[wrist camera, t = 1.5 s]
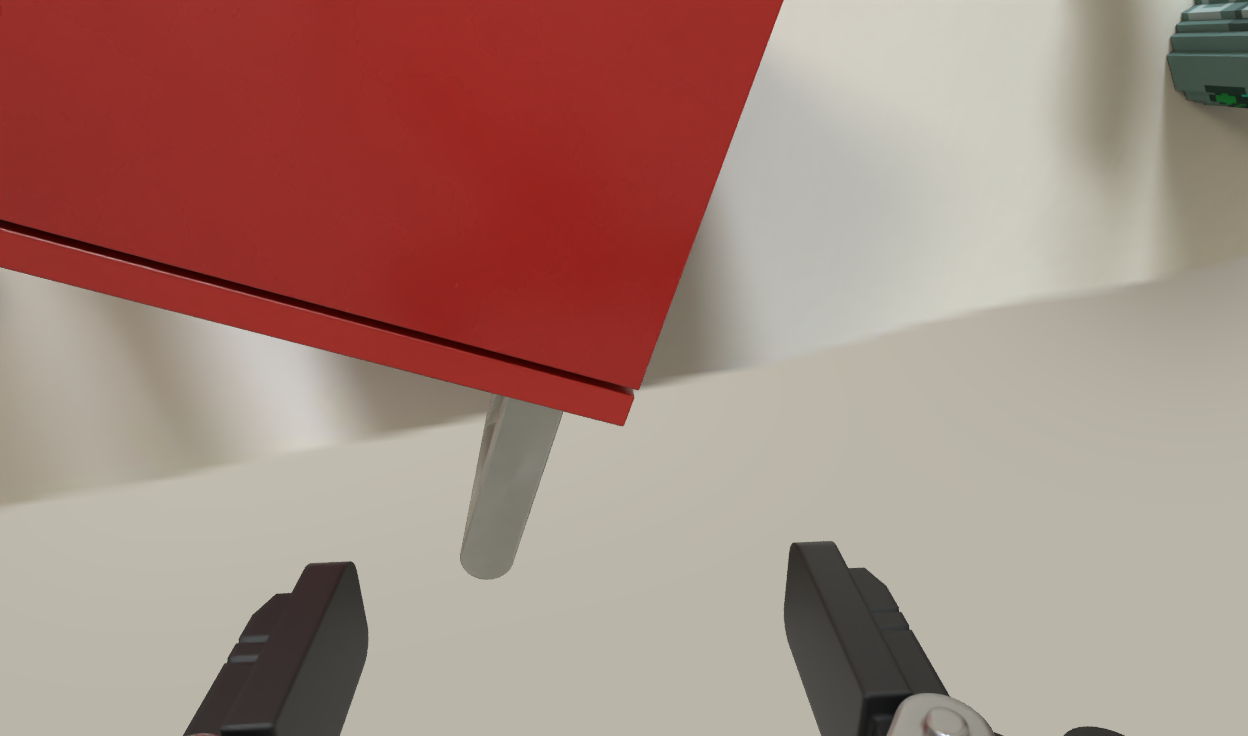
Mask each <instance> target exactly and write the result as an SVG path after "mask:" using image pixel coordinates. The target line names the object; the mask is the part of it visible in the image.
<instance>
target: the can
mask: <svg viewBox="0 0 1248 736" xmlns="http://www.w3.org/2000/svg"><path fill="white" fill-rule="evenodd" d="M1195 1H1196V5H1194V6H1193V7H1191V8H1190V9H1188V10H1186V11H1185V12H1183V13H1181V14H1182V18H1183V21H1182V22H1180V23H1179V24H1177V25H1176V28H1177V32H1178V33H1176V34H1174V35H1173V36H1171V37H1170V38H1171V42H1172V46H1173V50H1174V51H1173V52H1172V53H1170V54H1168V55H1167V59H1168V63H1169V66H1170V70H1171V74H1172V78H1173V82H1174V86H1175V89H1176V90H1181V91H1184V92H1185V96H1186V99H1188V100H1195V102H1203V103H1204V104H1206V105H1217V106H1228V107H1239V108H1248V0H1195Z"/></svg>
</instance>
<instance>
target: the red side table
mask: <svg viewBox="0 0 1248 736" xmlns="http://www.w3.org/2000/svg"><path fill="white" fill-rule="evenodd" d="M0 267H1V268H5V269H9V270H13V271H17V272H21V273H25V274H29V275H33V276H37V277H40V278H44V279H48V280H52V281H56V282H60V283H64V284H68V285H72V286H76V287H80V288H83V289H87V290H91V291H95V292H99V293H103V294H107V295H111V296H115V297H119V298H123V299H126V300H130V301H134V302H138V303H142V304H146V305H150V306H154V307H158V308H162V309H165V310H169V311H173V312H177V313H181V314H185V315H189V316H193V317H197V318H201V319H205V320H208V321H212V322H216V323H220V324H224V325H228V326H232V327H236V328H240V329H244V330H248V331H251V332H255V333H259V334H263V335H267V336H271V337H275V338H279V339H283V340H287V341H290V342H294V343H298V344H302V345H306V346H310V347H314V348H318V349H322V350H326V351H330V352H333V353H337V354H341V355H345V356H349V357H353V358H357V359H361V360H365V361H369V362H373V363H376V364H380V365H384V366H388V367H392V368H396V369H400V370H404V371H408V372H412V373H415V374H419V375H423V376H427V377H431V378H435V379H439V380H443V381H447V382H451V383H455V384H458V385H462V386H466V387H470V388H474V389H478V390H482V391H486V392H490V393H493V396H492V399H491V403H490V406H489V410H488V413H487V417H486V422H485V428H484V433H483V438H482V443H481V448H480V453H479V459H478V464H477V469H476V475H475V480H474V485H473V490H472V496H471V501H470V506H469V512H468V517H467V522H466V528H465V534H464V538H463V543H462V549H461V554H460V561H461V564H462V566H463V568H464V569H465V570H466V571H467V572H468V573H469V574H470V575H472V576H474V577H476V578H479V579H495V578H498V577H500V576H502V575H504V574H505V573H507V572H508V571H509V569H510V568H511V566H512V564H513V561H514V558H515V555H516V552H517V549H518V546H519V543H520V540H521V537H522V533H523V531H524V528H525V525H526V522H527V519H528V516H529V513H530V510H531V507H532V504H533V501H534V498H535V495H536V492H537V489H538V486H539V483H540V480H541V476H542V474H543V471H544V468H545V465H546V462H547V459H548V456H549V453H550V450H551V447H552V444H553V441H554V437H555V435H556V432H557V429H558V425H559V423H560V420H561V417H562V414H563V411H564V412H568V413H572V414H576V415H580V416H583V417H587V418H591V419H595V420H599V421H603V422H607V423H611V424H615V425H619V426H623V425H624V424H625V421H626V419H627V416H628V413H629V411H630V408H631V405H632V402H633V400H634V394H633V389H632V388H628V387H624V386H621V385H617V384H613V383H609V382H606V381H602V380H598V379H594V378H591V377H587V376H583V375H580V374H576V373H572V372H568V371H565V370H561V369H557V368H553V367H550V366H546V365H542V364H538V363H535V362H531V361H527V360H523V359H520V358H516V357H512V356H509V355H505V354H501V353H497V352H494V351H490V350H486V349H482V348H479V347H475V346H471V345H467V344H464V343H460V342H456V341H452V340H449V339H445V338H441V337H438V336H434V335H430V334H426V333H423V332H419V331H415V330H411V329H408V328H404V327H400V326H396V325H393V324H389V323H385V322H382V321H378V320H374V319H370V318H367V317H363V316H359V315H355V314H352V313H348V312H344V311H340V310H337V309H333V308H329V307H325V306H322V305H318V304H314V303H311V302H307V301H303V300H299V299H296V298H292V297H288V296H284V295H281V294H277V293H273V292H269V291H266V290H262V289H258V288H255V287H251V286H247V285H243V284H240V283H236V282H232V281H228V280H225V279H221V278H217V277H213V276H210V275H206V274H202V273H198V272H195V271H191V270H187V269H184V268H180V267H176V266H172V265H169V264H165V263H161V262H157V261H154V260H150V259H146V258H142V257H139V256H135V255H131V254H127V253H124V252H120V251H116V250H113V249H109V248H105V247H101V246H98V245H94V244H90V243H86V242H83V241H79V240H75V239H71V238H68V237H64V236H60V235H57V234H53V233H49V232H45V231H42V230H38V229H34V228H30V227H27V226H23V225H19V224H15V223H12V222H8V221H4V220H0Z"/></svg>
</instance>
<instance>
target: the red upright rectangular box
mask: <svg viewBox="0 0 1248 736" xmlns="http://www.w3.org/2000/svg"><path fill="white" fill-rule="evenodd" d="M782 3H783V0H0V220H4V221H8V222H12V223H15V224H19V225H23V226H27V227H30V228H34V229H38V230H42V231H45V232H49V233H53V234H57V235H60V236H64V237H68V238H71V239H75V240H79V241H83V242H86V243H90V244H94V245H98V246H101V247H105V248H109V249H113V250H116V251H120V252H124V253H127V254H131V255H135V256H139V257H142V258H146V259H150V260H154V261H157V262H161V263H165V264H169V265H172V266H176V267H180V268H184V269H187V270H191V271H195V272H198V273H202V274H206V275H210V276H213V277H217V278H221V279H225V280H228V281H232V282H236V283H240V284H243V285H247V286H251V287H255V288H258V289H262V290H266V291H269V292H273V293H277V294H281V295H284V296H288V297H292V298H296V299H299V300H303V301H307V302H311V303H314V304H318V305H322V306H325V307H329V308H333V309H337V310H340V311H344V312H348V313H352V314H355V315H359V316H363V317H367V318H370V319H374V320H378V321H382V322H385V323H389V324H393V325H396V326H400V327H404V328H408V329H411V330H415V331H419V332H423V333H426V334H430V335H434V336H438V337H441V338H445V339H449V340H452V341H456V342H460V343H464V344H467V345H471V346H475V347H479V348H482V349H486V350H490V351H494V352H497V353H501V354H505V355H509V356H512V357H516V358H520V359H523V360H527V361H531V362H535V363H538V364H542V365H546V366H550V367H553V368H557V369H561V370H565V371H568V372H572V373H576V374H580V375H583V376H587V377H591V378H594V379H598V380H602V381H606V382H609V383H613V384H617V385H621V386H624V387H628V388H632V389H636V390H639V388H640V385H641V383H642V380H643V377H644V375H645V372H646V369H647V366H648V364H649V361H650V358H651V356H652V353H653V350H654V348H655V345H656V342H657V340H658V337H659V334H660V331H661V329H662V326H663V323H664V321H665V318H666V315H667V313H668V310H669V307H670V305H671V302H672V299H673V296H674V294H675V291H676V288H677V286H678V283H679V280H680V278H681V275H682V272H683V270H684V267H685V264H686V261H687V259H688V256H689V253H690V251H691V248H692V245H693V243H694V240H695V237H696V235H697V232H698V229H699V226H700V224H701V221H702V218H703V216H704V213H705V210H706V208H707V205H708V202H709V199H710V197H711V194H712V191H713V189H714V186H715V183H716V181H717V178H718V175H719V173H720V170H721V167H722V164H723V162H724V159H725V156H726V154H727V151H728V148H729V146H730V143H731V140H732V138H733V135H734V132H735V129H736V127H737V124H738V121H739V119H740V116H741V113H742V111H743V108H744V105H745V103H746V100H747V97H748V94H749V92H750V89H751V86H752V84H753V81H754V78H755V76H756V73H757V70H758V68H759V65H760V62H761V59H762V57H763V54H764V51H765V49H766V46H767V43H768V41H769V38H770V35H771V33H772V30H773V27H774V24H775V22H776V19H777V16H778V14H779V11H780V8H781V6H782Z"/></svg>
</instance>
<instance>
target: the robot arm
mask: <svg viewBox="0 0 1248 736" xmlns="http://www.w3.org/2000/svg"><path fill="white" fill-rule="evenodd" d="M784 622H785V630H786V635H787V639H788V643H789V646H790V649H791V651H792V655H793V657H794V660H795V663H796V666H797V669H798V671H799V674H800V677H801V680H802V683H803V686H804V688H805V691H806V694H807V697H808V700H809V702H810V705H811V708H812V711H813V714H814V717H815V719H816V722H817V725H818V727H819V731H820V733H821V736H1003V735H1000V734H997V733H995V732H993V730H992V729H991V727H990V726H989V724H988V723H987V722H986V720H985V719H984V718H983V717H982V716H981V715H980V714H979V713H977V712H976V711H975V710H974V709H972V708H971V707H969V706H968V705H966V704H965V703H962V702H961V701H959V700H956V699H954V698H951V697H950V696H949V695H948V692H947V691H946V689H945V687H944V686H943V684H942V682H941V680H940V679H939V677H938V675H937V673H936V672H935V670H934V668H933V667H932V665H931V663H930V661H929V659H928V658H927V656H926V654H925V652H924V651H923V649H922V647H921V645H920V644H919V642H918V640H917V639H916V637H915V635H914V633H913V632H912V630H909V625H908V623H907V621H906V619H905V618H904V616H903V614H902V613H901V612H899V607H898V606H897V604H896V602H895V600H894V599H893V597H892V595H891V593H890V592H889V590H888V588H887V586H886V585H884V584H883V583H882V582H881V581H879V580H878V579H877V578H876V577H875V576H874V575H873V574H871V573H870V572H869V571H868V570H867V569H865V568H848V567H847V565H846V563H845V561H844V559H843V557H842V555H841V553H840V552H839V550H838V548H837V546H836V545H835V543H834V542H832V541H823V542H803V543H802V542H801V543H792V545H791V547H790V552H789V561H788V571H787V582H786V592H785V602H784ZM367 649H368V627H367V621H366V616H365V611H364V605H363V601H362V596H361V590H360V585H359V580H358V574H357V570H356V567H355V565H354V563H353V562H351V561H350V562H329V563H310V564H308V565H307V566H306V567H305V569H304V571H303V573H302V574H301V576H300V578H299V580H298V582H297V584H296V586H295V588H294V589H293V591H292V593H286V594H285V593H284V594H276V595H275V596H273V597H272V598H271V599H270V600H269V601H268V602H267V603H266V604H264V605H263V606H262V607H261V608H260V609H259V610H258V611H257V612H255V614H253V615H252V617H251V619H250V620H249V622H248V624H247V626H246V627H245V629H244V631H243V632H242V634H241V636H240V638H239V643H237V644H236V645H235V646H234V648H233V650H232V652H231V653H230V655H229V657H228V661H227V663H225V664H224V665H223V667H222V669H221V671H220V673H219V674H218V676H217V678H216V679H215V681H214V683H213V685H212V686H211V688H210V690H209V692H208V693H207V695H206V697H205V699H204V700H203V702H202V704H201V705H200V707H199V709H198V710H197V712H196V714H195V716H194V717H193V719H192V721H191V723H190V724H189V726H188V728H187V730H186V731H185V733H184V735H183V736H340V733H341V730H342V727H343V724H344V722H345V719H346V716H347V713H348V710H349V707H350V704H351V702H352V699H353V696H354V693H355V690H356V687H357V684H358V682H359V678H360V676H361V673H362V670H363V667H364V664H365V661H366V656H367ZM1064 736H1124V735H1122V734H1119V733H1117V732H1114V731H1111V730H1108V729H1104V728H1098V727H1088V726H1087V727H1078V728H1075V729H1072V730H1070V731H1068V732H1067V733H1066V734H1065V735H1064Z"/></svg>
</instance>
